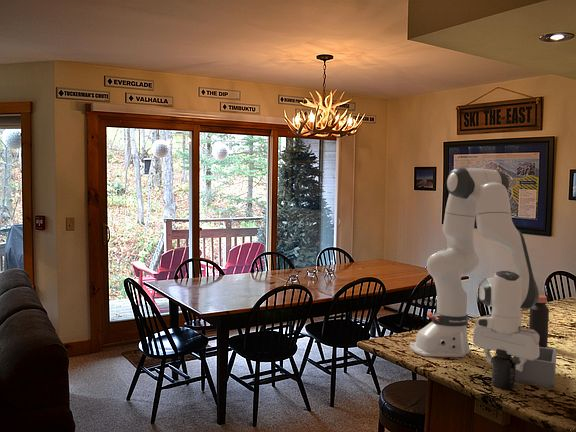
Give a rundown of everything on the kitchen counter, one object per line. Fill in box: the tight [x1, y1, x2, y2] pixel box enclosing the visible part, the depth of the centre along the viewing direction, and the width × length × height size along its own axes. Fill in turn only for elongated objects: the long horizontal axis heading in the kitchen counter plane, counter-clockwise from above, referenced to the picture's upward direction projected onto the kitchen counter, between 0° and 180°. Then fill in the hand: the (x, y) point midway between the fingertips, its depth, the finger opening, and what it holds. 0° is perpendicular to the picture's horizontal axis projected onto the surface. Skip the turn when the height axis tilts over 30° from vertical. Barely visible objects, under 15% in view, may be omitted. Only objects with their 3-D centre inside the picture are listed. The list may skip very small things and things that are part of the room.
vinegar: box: [528, 294, 550, 348], centre depth 204 cm, size 7×7×20 cm
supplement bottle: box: [491, 349, 516, 390], centre depth 163 cm, size 7×7×12 cm
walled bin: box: [512, 347, 557, 389], centre depth 171 cm, size 16×12×8 cm
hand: (504, 366), depth 163 cm, fingers open, 8 cm apart
